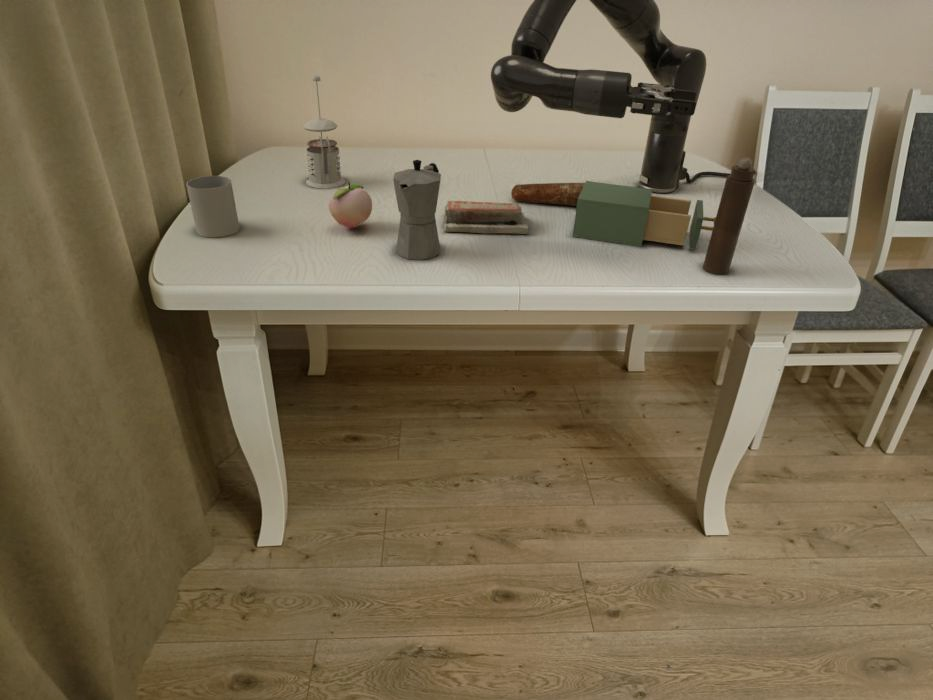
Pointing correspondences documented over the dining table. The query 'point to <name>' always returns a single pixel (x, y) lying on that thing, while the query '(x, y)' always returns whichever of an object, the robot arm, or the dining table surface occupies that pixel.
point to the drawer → (674, 221)
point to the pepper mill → (730, 218)
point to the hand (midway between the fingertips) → (695, 103)
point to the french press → (323, 154)
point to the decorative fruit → (350, 205)
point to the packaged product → (484, 217)
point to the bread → (548, 193)
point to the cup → (213, 206)
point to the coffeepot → (417, 211)
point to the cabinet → (612, 213)
